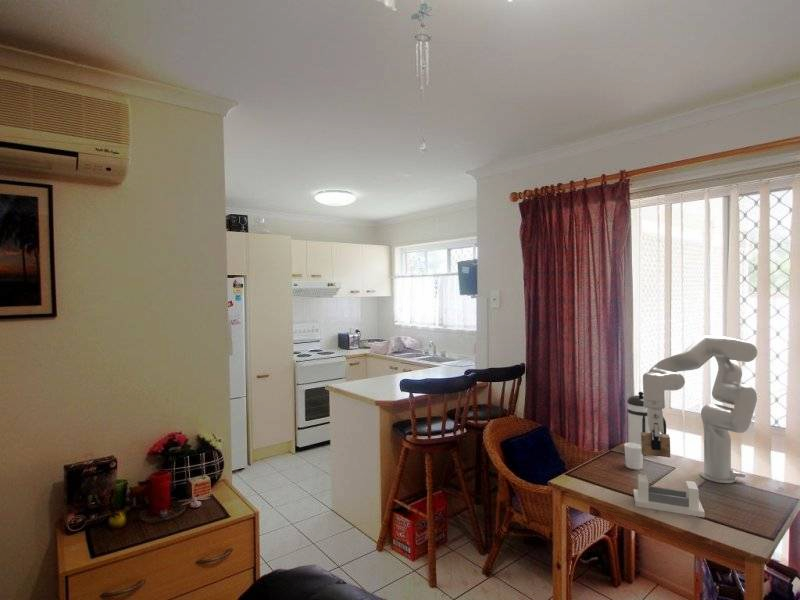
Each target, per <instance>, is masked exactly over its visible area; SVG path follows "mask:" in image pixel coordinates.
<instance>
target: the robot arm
mask: <svg viewBox="0 0 800 600" xmlns="http://www.w3.org/2000/svg"><path fill="white" fill-rule="evenodd" d="M757 356H758V349H757V347H756V345H755V343H752V342H750V341H746V340H741V339H737V338H732V337H729V336H728V337H727V336H723V335H722V336H719V335H712V334H711V335H710V334H709V335H708V334H707V335H703V336H701V337H699V338H698V339H697V340H696V341H694V342H693V343H692V344H691V345H689V347H687V348H686V349H685V350H684V351H682V352H681V353H678V354H673V355H671V356H669V357H666V358H664V359H661V360H659V361H658V362H657V363H655V364H654V365H653V366H651V368H650V369H649V370H648V372H645V373H643V375H642V390H643V391H642V392H643V400H644V407H646V408H647V419H648V426H649V430H650V433H652V439H651V446H652V450H661V441H660V434H663V433H664V427H663V417H664V414H663V410H664V409H665V408H666V404H665V402H666V401H665V400H666V399H665V391H678V390H681V389H682V388H684V386H685V383H686V381H685V378H684V376H683V375H682V374H681V373H679V372H687V371H694V370H698V369H700V368H701V367H702V366H704V365H705V364H706V363H707V362H708V361H709V360H711V359H712V358H713V357H714V358H715V360H716V363H717V368H718V369H717V373H716V377H715V381H714V382H713V383H714V384H713V387H712V391H711V396H712V398H713V399H714V400H715V401H717V402H720V403H723V404H727V405H731V406H733V407H729V406H727V405H726V406H725V405H722V404H717V403H707V404H705V405H703V406H702V408H701V411H700V417H701V422H702V427H703V469H701V470H699V476H700V477H702V479H703V478H704V479H706V480H707V481H711V482H714V483H719V484H733V483H735V482H736V481H737V479H736V478H737V477H738V478H746V474H745V472H740V470H734V469H733V468H732V438H731V435H730V433H729V432H732V433H736V434H744V433H746V432H747V430H748V429H749V428H750V425H751V421H752V419H753V416H754V412H755V409H756V405H757V402H758V396H757V392H756V390H755V388H754V387H752V386H751V385H748V384H744V383H741V381H742V377H743V370H742V367H741V365H740V364H739V362H743V363H748V362H749V363H750V362H752V361H754V360H755V359H756V358H757ZM653 434H655V435H653Z"/></svg>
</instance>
